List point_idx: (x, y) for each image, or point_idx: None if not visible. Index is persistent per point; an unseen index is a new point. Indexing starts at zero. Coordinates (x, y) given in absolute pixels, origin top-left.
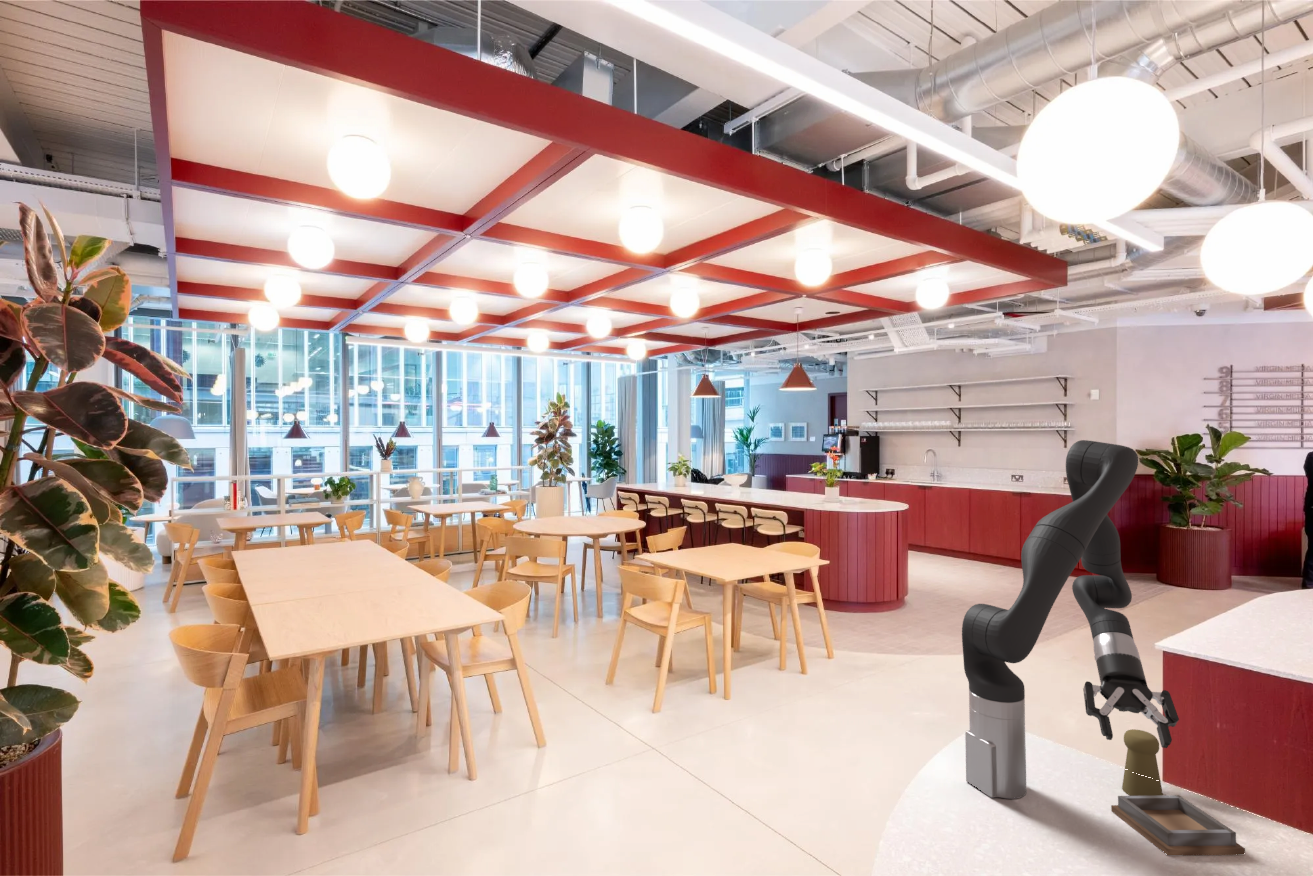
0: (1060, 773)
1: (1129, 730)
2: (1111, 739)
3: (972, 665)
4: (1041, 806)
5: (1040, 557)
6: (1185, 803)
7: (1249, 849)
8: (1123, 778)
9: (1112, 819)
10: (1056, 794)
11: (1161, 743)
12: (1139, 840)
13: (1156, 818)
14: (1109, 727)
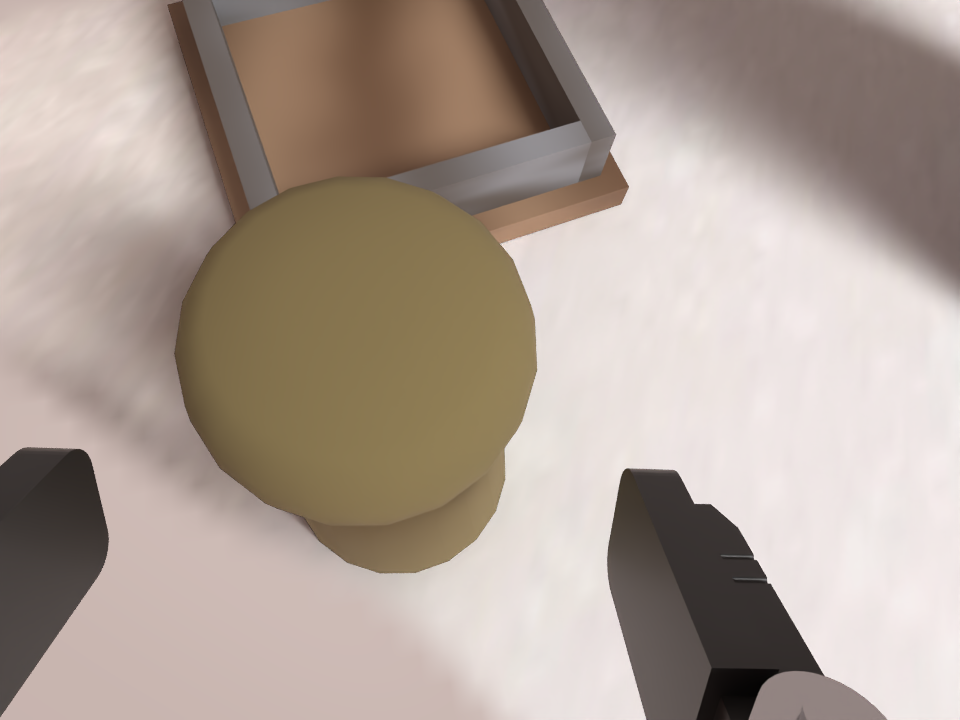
0: (835, 571)
1: (468, 377)
2: (611, 535)
3: None
4: (917, 154)
5: None
6: (268, 169)
7: (129, 72)
8: (502, 465)
9: (630, 138)
10: (856, 288)
11: (82, 567)
12: (560, 20)
13: (448, 129)
14: (675, 527)
